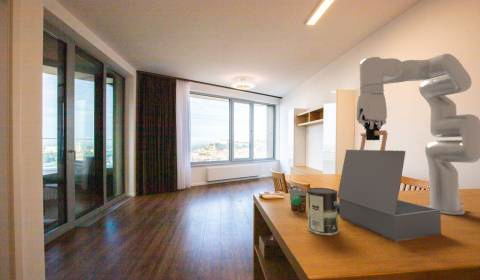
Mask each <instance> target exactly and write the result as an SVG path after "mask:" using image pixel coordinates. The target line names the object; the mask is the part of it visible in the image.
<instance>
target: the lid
mask: <svg viewBox="0 0 480 280" xmlns="http://www.w3.org/2000/svg"><path fill="white" fill-rule="evenodd" d="M388 134H389V133H388V132H387V130H386V129H383V130H382V129H381V130H380V131H375V135H380V136H382V138H381V144H380V150H379V149H377V150H376V149H375V150H374V149H365V145H366V141H367V140H366V131H361V132H360V136H361V142H360V147H359V149H346V150H345V153H344V154H345V155H344V159H343V163H342V164H343V166H342V169H341V175H340V180H339V185H338V191H337V199H339V198H341V199H344V200H347V201H350V202H353V203H356V204H359V205H362V206H365V207H368V208H371V209H375V210H378V211H381V212H384V213H387V214H390V215H393V216H395V214H396V208H397V202H398V200H399V195H400V189H401V188H400V187H401V183H402V176H403V171H404V165H405V157H406V150H391V149H390V150H387V149H386V146H387V145H386V144H387V139H388Z"/></svg>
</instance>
